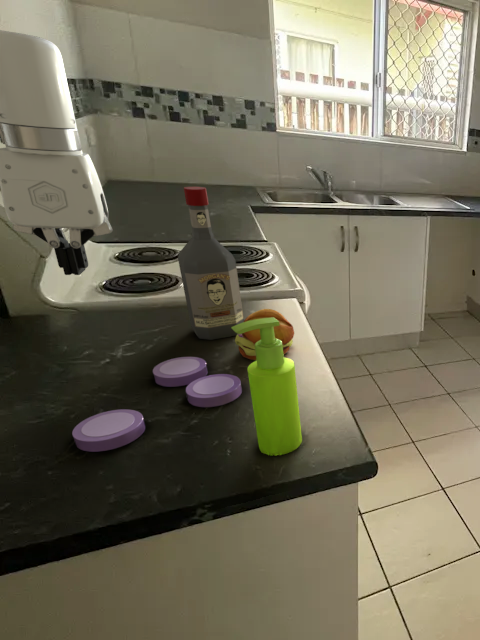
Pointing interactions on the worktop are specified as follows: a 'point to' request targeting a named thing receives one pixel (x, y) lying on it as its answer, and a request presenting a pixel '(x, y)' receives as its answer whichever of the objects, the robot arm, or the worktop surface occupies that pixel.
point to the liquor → (208, 275)
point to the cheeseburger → (251, 337)
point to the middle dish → (213, 390)
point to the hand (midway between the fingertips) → (75, 272)
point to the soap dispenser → (273, 391)
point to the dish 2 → (180, 371)
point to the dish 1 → (108, 430)
